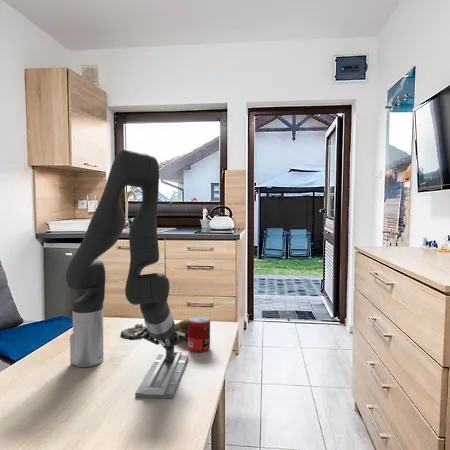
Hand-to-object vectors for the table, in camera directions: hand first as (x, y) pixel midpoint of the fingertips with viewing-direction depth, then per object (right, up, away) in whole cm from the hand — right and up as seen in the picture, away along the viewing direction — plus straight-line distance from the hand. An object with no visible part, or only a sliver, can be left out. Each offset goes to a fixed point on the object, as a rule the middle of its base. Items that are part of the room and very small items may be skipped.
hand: (168, 347), depth 110 cm
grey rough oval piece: (-18, -6, +29) cm, 35 cm away
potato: (+2, -6, +25) cm, 26 cm away
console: (0, -7, -6) cm, 9 cm away
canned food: (+8, -6, +15) cm, 18 cm away
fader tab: (0, -5, +2) cm, 5 cm away
